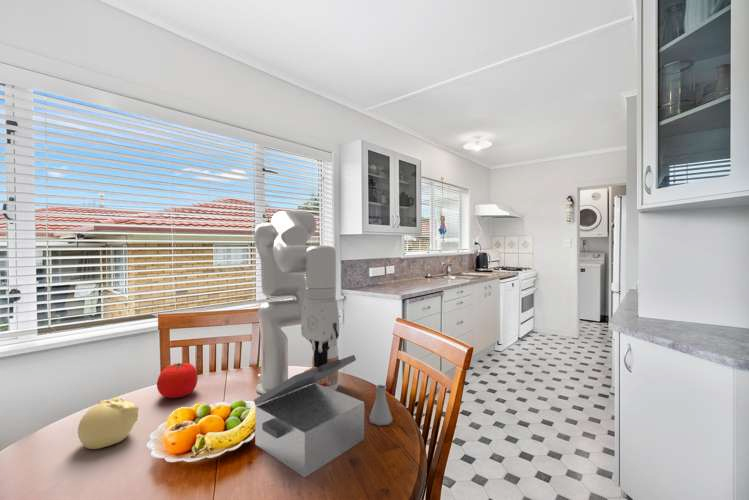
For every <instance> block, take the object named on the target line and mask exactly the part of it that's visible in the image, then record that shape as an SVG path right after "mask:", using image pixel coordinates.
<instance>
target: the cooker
mask: <svg viewBox="0 0 749 500" xmlns="http://www.w3.org/2000/svg"><path fill="white" fill-rule="evenodd" d="M254 406H255V405H254ZM254 413H255V417H254V418H255V419H254V420H255V421H254V423H255V425H254V427H255V428H254V429H255V439H254V440H255V442H254V443H255V445H256V446H257V447H258V448H259V449H262V451H264V452H265V453H267V454H269V455H270V456H271V457H272V458H275V459H276V460H278V461H279V462H280V463H281V464H283V465H285V466H287V468H289V469H291V470H292V471H293V472H295V473H297V474H298V475H300V476H301V477H302V478H306V477H308V476H309V475H312V474H313V473H315V472H316V471H317V470H319V469H320V468H322V467H324V466H325V465H327V464H329V463H330V462H331V461H333V460H335V459H336V458H338V457H339V456H340V455H342V454H344V453H346V452H347V451H348V450H350V449H351V448H353V447H354V446H356V445H358V444H359V443H360V442H362V441H364V440H365V401H363V400H360V399H358V398H356V397H355V398H354V397H352V396H351V395H350V394H346V393H344V392H341V391H339V390H335V391H334V390H332V389H329V388H327V387H324V386H322V385H319V384H316V383H314V384H310V385H308V386H305V387H302V388H300V389H297V390H295V391H292V392H290V393H287V394H284V395H282V396H279V397H277V398H274V399H271V400H269V401H266V402H264V403H261V404H259V405H256V406H255V411H254Z"/></svg>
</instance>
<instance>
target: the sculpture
mask: <svg viewBox="0 0 749 500" xmlns="http://www.w3.org/2000/svg"><path fill="white" fill-rule="evenodd" d="M138 412H139V407H138V405H137V404H135V403H132V402H130V401H128V400H125V399H123V398H121V397H118V396H117V397H114V398H110V399H103V400H99V402H98V403H97V404H96V405H94V406H93V407H91V408H89V410H87V411H86V412H85V414H84V415H83V416H82V418H81V419H80V421H79V424H78V427H77V436H78V437H77V438H78V439H79V442H80V443H81V444H82V445H83V446H84V447H85V448H86V449H90V450H97V449H103V448H105V447H106V448H107V447H109V446H112V445H114V444H118V443H120V442H122V441H123V440H125V439H126V438H127V437H128V435H129V434H130V433H131V432H132V429H133V427H134V425H135V424H136V422H138V417H139V413H138Z"/></svg>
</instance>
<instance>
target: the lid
mask: <svg viewBox="0 0 749 500" xmlns="http://www.w3.org/2000/svg"><path fill="white" fill-rule="evenodd" d="M355 361H357V358H356V355H355V354H352V355H350V356H347V357H345V358H342V359H339V358H338V360H335V361H332V362H330V363H327V364H324V365H321V366H319V367H318V368H315V369H314V367H313V368H312V367H311V368H308V369H305V370H304V371H303V372H301V373H298V374H295V375H293V376H291V377H290V378H289V377H288V380H286V381H284V382H283V383H281V384H280V385H278V386H276V387H275V388H273V389H271V390H270V391H268V392H266V393H265V394H260V396H258V397H256V398H255V399H253V403H254V406H257V405H260V404H262V403H265V402H267V401H270V400H272V399H275V398H278V397H280V396H283V395H285V394H288V393H290V392H293V391H296V390H298V389H301V388H303V387H306V386H308V385H311V384H313V383H315V382H317V381H319V380H321V379H323V378H324V377H326V376H328V375H330V374H332V373H334V372H335V371H337V370H338V371H339V370H341V369H343V368H344V367H346V366H348V365H350V364H352V363H353V362H355Z"/></svg>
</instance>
